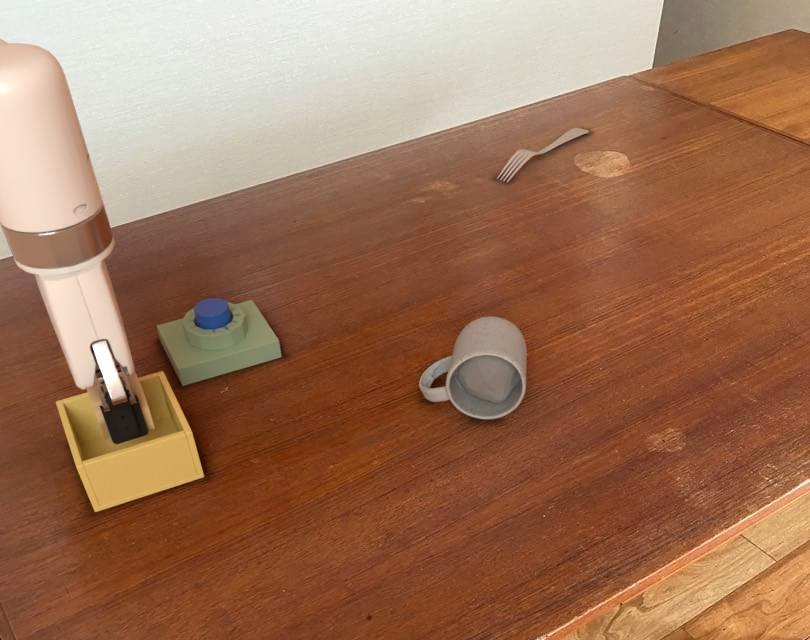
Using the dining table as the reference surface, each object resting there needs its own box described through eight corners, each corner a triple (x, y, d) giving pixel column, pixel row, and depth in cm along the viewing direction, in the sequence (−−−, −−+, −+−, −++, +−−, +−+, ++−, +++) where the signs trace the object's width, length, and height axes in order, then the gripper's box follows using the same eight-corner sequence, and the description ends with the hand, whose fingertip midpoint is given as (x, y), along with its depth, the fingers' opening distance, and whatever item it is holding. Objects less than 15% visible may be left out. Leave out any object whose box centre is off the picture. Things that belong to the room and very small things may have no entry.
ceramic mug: (525, 372, 90) (529, 307, 84) (523, 422, 84) (528, 356, 79) (423, 369, 91) (421, 304, 86) (415, 418, 86) (412, 353, 80)
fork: (589, 149, 132) (592, 130, 130) (510, 183, 119) (512, 163, 118) (573, 144, 133) (576, 125, 131) (493, 178, 121) (495, 157, 119)
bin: (95, 512, 78) (76, 467, 74) (73, 446, 84) (55, 401, 80) (204, 477, 81) (192, 431, 76) (175, 415, 87) (163, 370, 83)
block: (106, 443, 77) (92, 404, 74) (96, 416, 80) (82, 376, 76) (155, 429, 78) (143, 389, 75) (143, 402, 81) (131, 363, 78)
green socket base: (182, 386, 90) (173, 354, 87) (160, 342, 96) (152, 310, 93) (282, 357, 93) (276, 325, 90) (255, 316, 99) (249, 285, 96)
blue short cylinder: (202, 334, 90) (199, 319, 89) (193, 317, 92) (189, 302, 91) (235, 325, 91) (232, 310, 90) (225, 308, 93) (222, 294, 92)
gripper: (-7, 198, 70) (66, 383, 83) (25, 298, 59) (102, 491, 72) (86, 178, 72) (143, 361, 85) (134, 271, 61) (189, 464, 74)
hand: (123, 419), depth 79 cm, fingers closed on block, 4 cm apart
